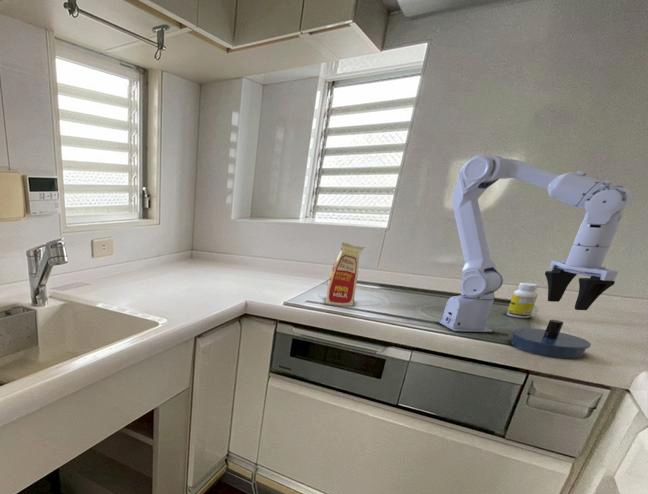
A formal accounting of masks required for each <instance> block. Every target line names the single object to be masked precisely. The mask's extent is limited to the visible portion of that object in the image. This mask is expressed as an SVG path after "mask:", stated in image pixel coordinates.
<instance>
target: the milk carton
mask: <svg viewBox="0 0 648 494" xmlns="http://www.w3.org/2000/svg"><path fill="white" fill-rule="evenodd" d="M365 248H366V247H365V246H359V245H353V244H350V243H348V242H345V241H341V248H340V252H338V256H337V258H336V259H335V262H334V264H333V266H332V268H331V269H332V270H331V273H330V276H329V279H328V283H327V290H326V297H325V304H326V305H332V306H353V304H354V303H355V295H356V294H355V293H356V288H357V283H358V275H359V263H360V255H361V254H362V252H363V250H364V249H365Z"/></svg>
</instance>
